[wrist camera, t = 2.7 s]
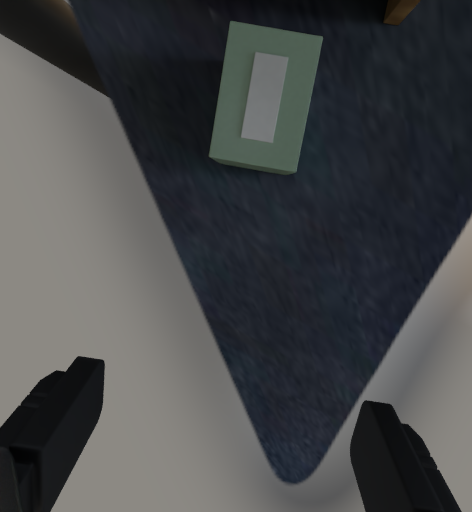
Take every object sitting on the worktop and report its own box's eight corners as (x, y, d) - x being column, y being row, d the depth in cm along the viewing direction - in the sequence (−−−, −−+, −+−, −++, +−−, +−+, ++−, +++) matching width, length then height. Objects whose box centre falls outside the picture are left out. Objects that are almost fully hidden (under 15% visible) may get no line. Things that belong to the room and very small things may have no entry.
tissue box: (220, 163, 33) (208, 156, 25) (236, 61, 31) (230, 19, 23) (286, 175, 32) (296, 172, 24) (306, 73, 31) (323, 35, 23)
